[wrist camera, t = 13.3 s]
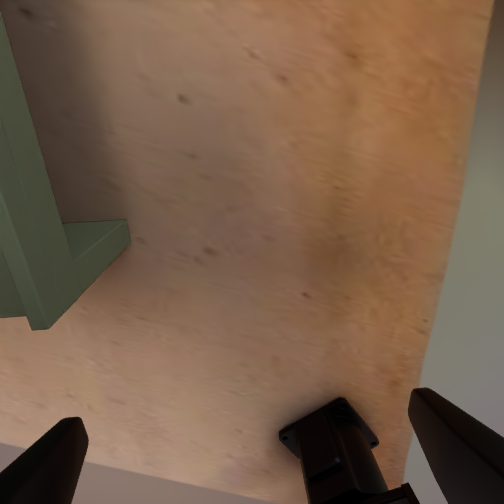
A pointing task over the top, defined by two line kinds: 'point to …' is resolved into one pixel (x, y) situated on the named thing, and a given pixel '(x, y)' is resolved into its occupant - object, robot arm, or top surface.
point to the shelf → (40, 220)
